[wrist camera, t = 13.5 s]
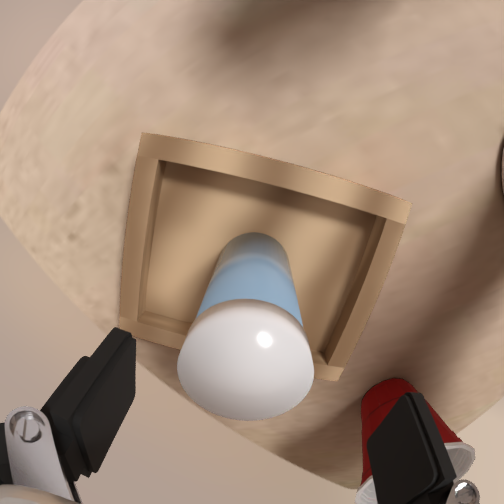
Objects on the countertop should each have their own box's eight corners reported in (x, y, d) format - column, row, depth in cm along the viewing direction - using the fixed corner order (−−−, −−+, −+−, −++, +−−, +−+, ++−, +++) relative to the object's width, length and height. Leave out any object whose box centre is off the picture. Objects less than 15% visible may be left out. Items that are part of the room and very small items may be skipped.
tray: (394, 196, 21) (412, 203, 18) (331, 359, 26) (337, 381, 23) (157, 134, 20) (141, 132, 17) (132, 313, 25) (119, 331, 22)
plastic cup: (375, 345, 25) (422, 447, 14) (447, 369, 26) (496, 447, 15) (315, 420, 29) (329, 516, 17) (389, 433, 30) (415, 511, 18)
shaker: (299, 241, 21) (334, 337, 10) (279, 306, 23) (289, 428, 12) (225, 222, 21) (186, 304, 10) (211, 289, 23) (171, 404, 12)
